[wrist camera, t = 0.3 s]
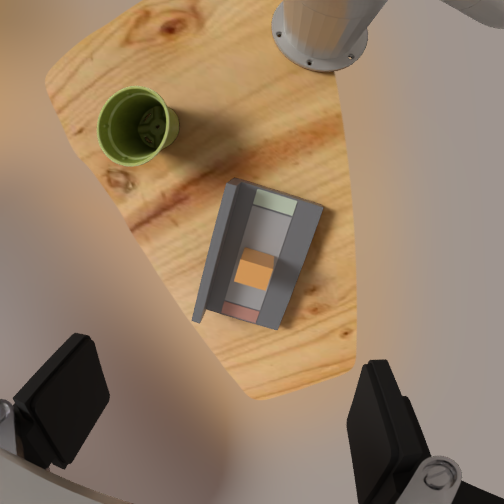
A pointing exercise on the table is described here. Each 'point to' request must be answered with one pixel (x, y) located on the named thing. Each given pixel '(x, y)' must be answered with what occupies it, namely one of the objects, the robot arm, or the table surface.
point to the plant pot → (135, 126)
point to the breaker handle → (255, 269)
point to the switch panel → (260, 239)
